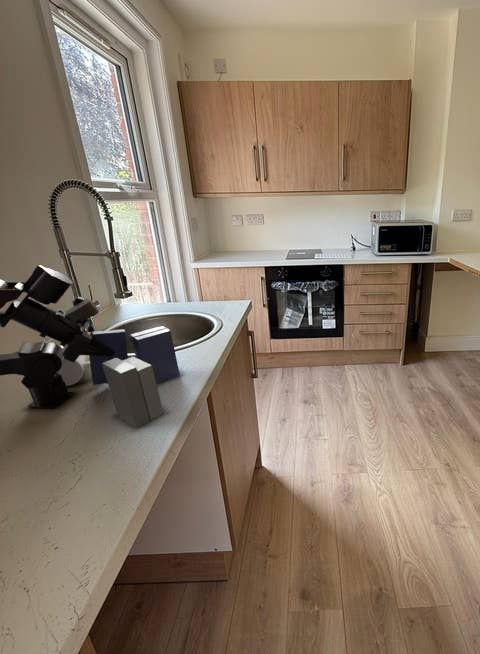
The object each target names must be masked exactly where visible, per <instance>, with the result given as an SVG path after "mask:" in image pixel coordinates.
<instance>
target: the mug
mask: <svg viewBox="0 0 480 654" xmlns="http://www.w3.org/2000/svg"><path fill="white" fill-rule="evenodd" d="M59 346H60V347H61V348H62V349H63V346H61V345H60V344H59ZM88 360H90V359H89V355H80V356H79V357H78V358H77V359H76V361H75V362H74V363H73V362H71V361H68V360H66V359H64V360H63V364H62V367H61V369H60V370H59V371H58V372H57V373H58V374H59V375H61V376H62V379H63V381H65V384H66V387H69V386H73V385H75V384H77V383H78V382H80V380H81V379H82V378H83V375H84V372H85V369H88V368H91V366H90V361H88Z"/></svg>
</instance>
